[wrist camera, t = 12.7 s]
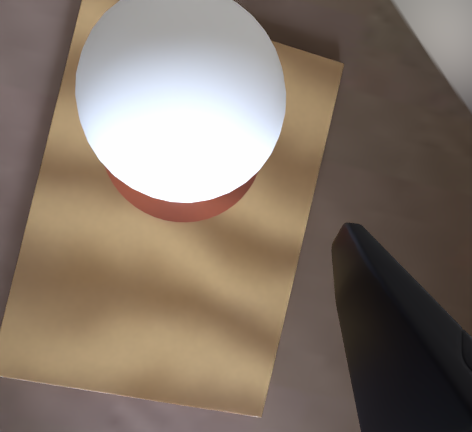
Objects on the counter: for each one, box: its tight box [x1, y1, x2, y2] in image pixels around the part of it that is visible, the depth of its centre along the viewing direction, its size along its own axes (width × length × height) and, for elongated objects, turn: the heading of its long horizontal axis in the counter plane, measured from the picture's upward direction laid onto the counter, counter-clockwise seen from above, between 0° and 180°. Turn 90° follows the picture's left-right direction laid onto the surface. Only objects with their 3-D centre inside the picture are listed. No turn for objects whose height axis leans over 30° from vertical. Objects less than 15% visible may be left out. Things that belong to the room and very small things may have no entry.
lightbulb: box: [75, 0, 286, 203], centre depth 14 cm, size 6×6×11 cm
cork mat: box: [0, 0, 344, 418], centre depth 19 cm, size 20×14×1 cm
